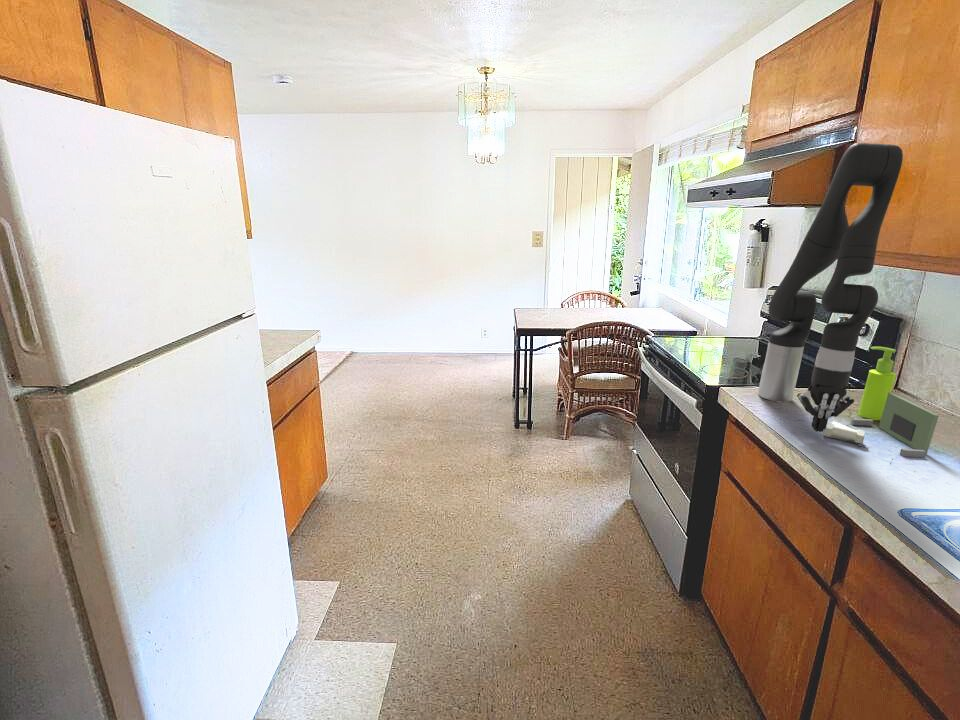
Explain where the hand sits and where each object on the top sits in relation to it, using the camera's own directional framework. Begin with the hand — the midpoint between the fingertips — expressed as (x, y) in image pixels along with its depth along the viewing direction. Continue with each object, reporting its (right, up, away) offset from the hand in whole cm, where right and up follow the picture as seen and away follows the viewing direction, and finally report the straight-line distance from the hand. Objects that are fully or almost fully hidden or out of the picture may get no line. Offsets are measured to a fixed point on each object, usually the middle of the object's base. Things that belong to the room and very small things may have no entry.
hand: (817, 430), depth 126 cm
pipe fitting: (+6, -2, 0) cm, 7 cm away
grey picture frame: (+18, -2, 0) cm, 18 cm away
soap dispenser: (+24, +2, +15) cm, 29 cm away
